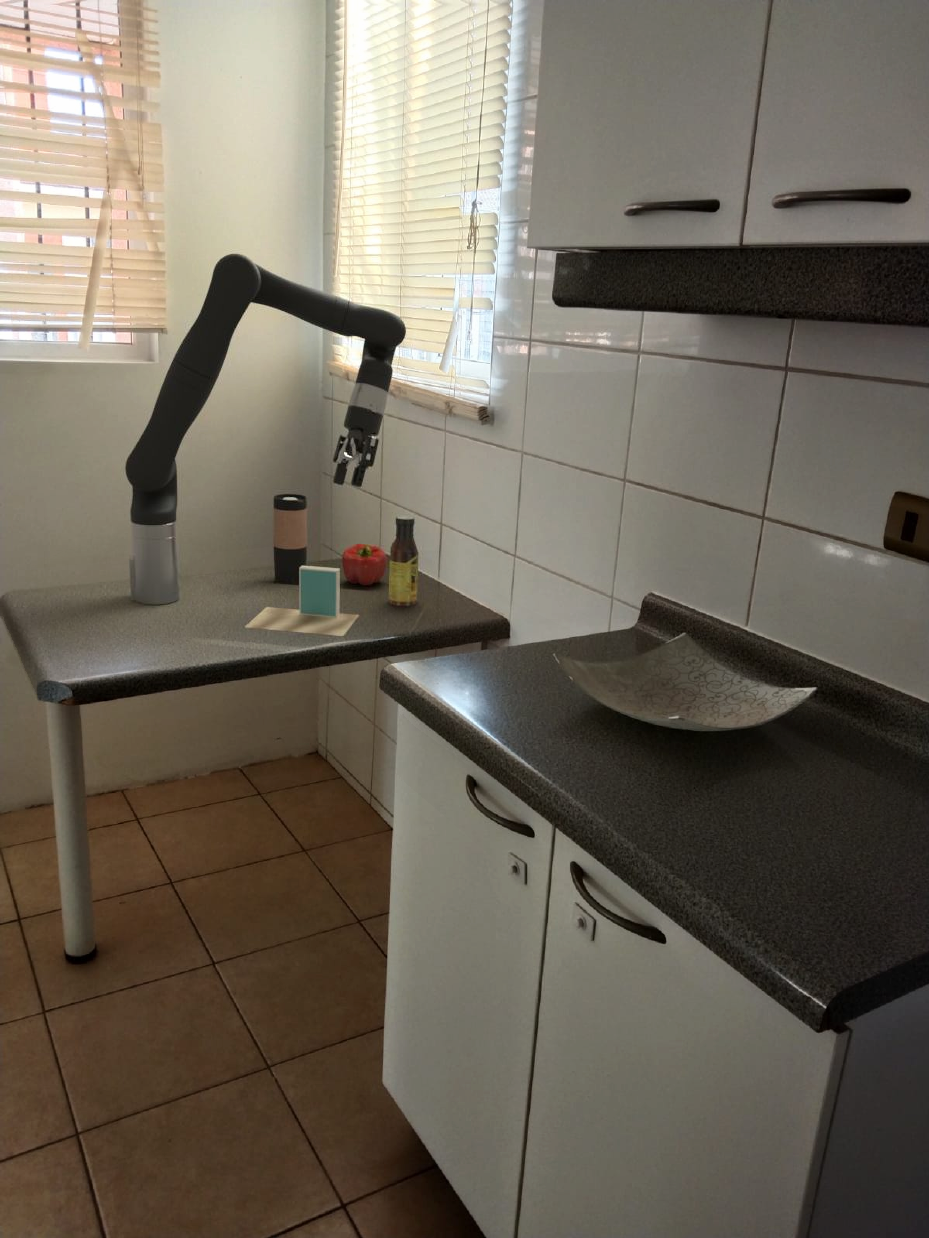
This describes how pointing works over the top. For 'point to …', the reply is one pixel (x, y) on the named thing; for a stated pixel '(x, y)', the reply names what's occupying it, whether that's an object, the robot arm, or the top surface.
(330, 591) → the tile
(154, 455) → the robot arm
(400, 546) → the sauce bottle
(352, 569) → the vegetable
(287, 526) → the travel mug
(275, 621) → the board
